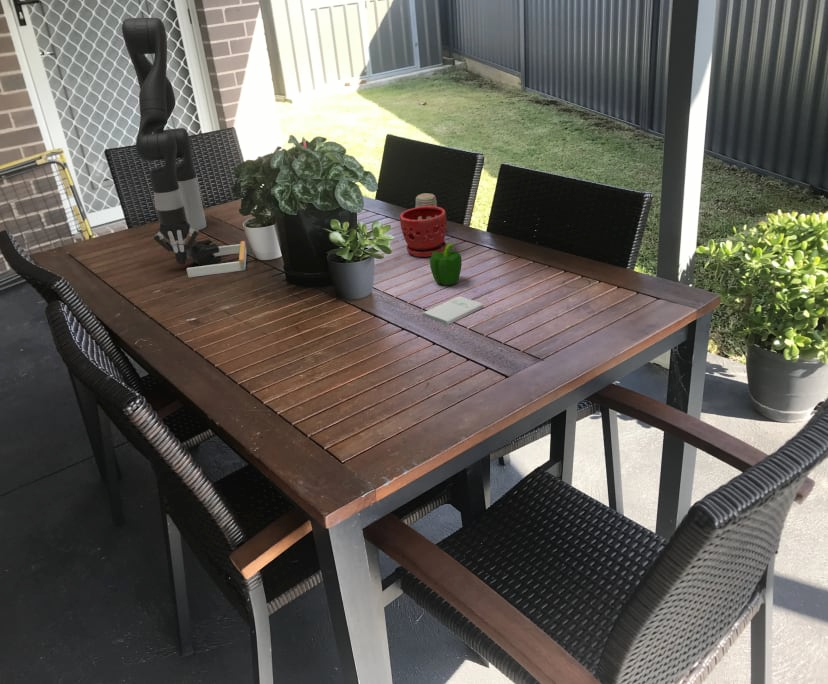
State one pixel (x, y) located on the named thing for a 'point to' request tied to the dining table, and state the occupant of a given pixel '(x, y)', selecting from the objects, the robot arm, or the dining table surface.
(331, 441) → the dining table surface
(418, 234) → the plant pot
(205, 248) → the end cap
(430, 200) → the carving
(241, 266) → the frame
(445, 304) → the external hard drive
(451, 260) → the bell pepper
